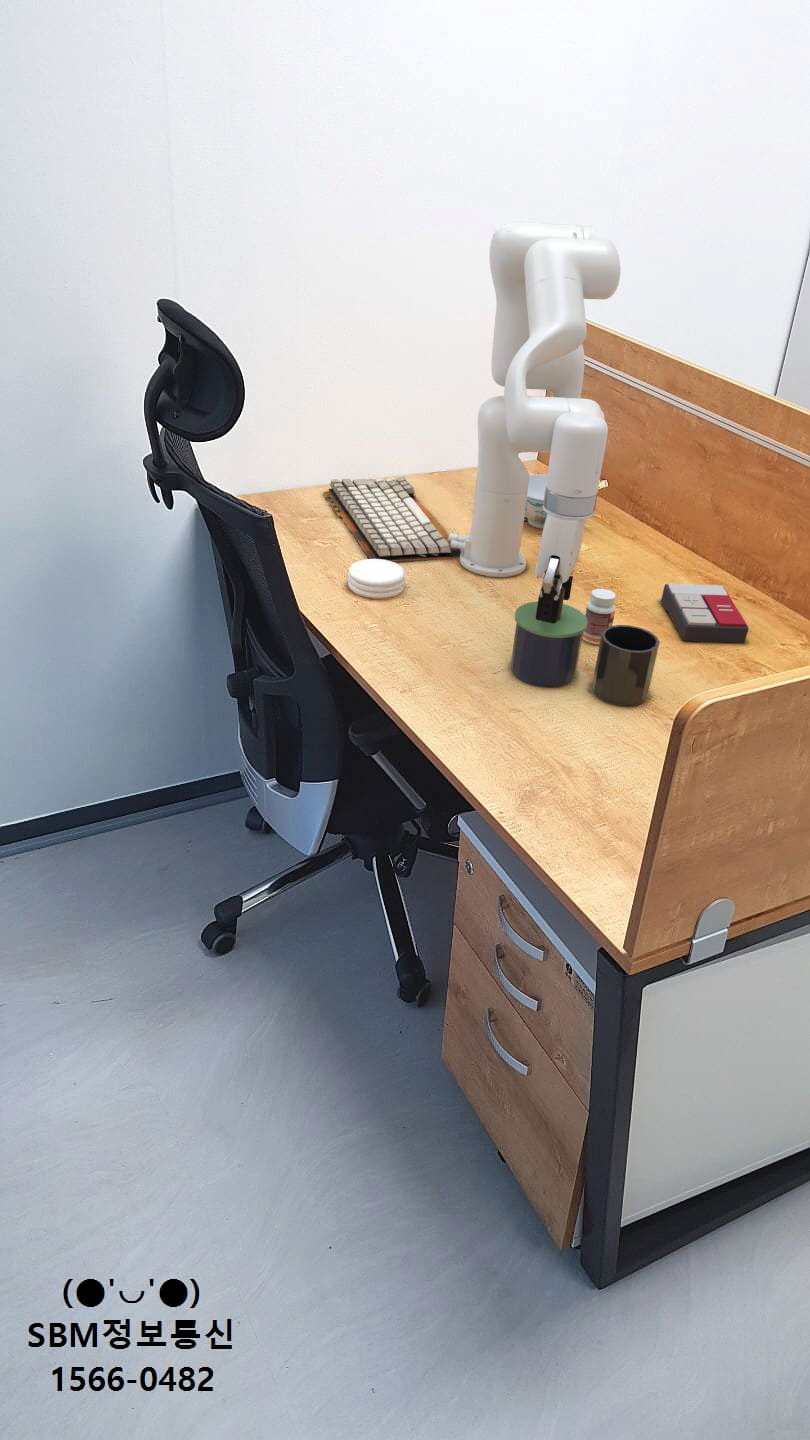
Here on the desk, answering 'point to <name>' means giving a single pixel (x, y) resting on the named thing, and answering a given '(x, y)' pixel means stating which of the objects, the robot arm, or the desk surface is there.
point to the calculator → (704, 613)
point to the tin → (544, 658)
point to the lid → (566, 625)
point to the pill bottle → (599, 614)
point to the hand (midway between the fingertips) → (552, 608)
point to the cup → (625, 665)
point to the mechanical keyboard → (389, 520)
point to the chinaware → (536, 501)
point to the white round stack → (376, 578)
